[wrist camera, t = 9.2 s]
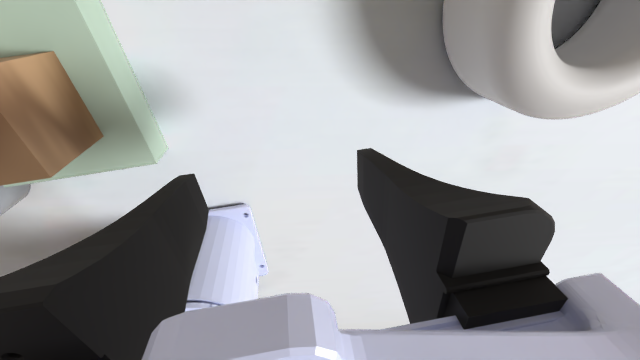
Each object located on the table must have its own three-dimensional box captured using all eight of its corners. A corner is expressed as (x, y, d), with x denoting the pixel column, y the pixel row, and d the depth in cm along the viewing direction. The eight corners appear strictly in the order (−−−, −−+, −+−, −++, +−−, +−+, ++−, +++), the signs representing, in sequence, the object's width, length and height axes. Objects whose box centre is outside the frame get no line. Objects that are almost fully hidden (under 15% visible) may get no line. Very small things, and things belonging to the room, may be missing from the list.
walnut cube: (103, 136, 17) (51, 177, 13) (21, 148, 17) (-60, 195, 13) (53, 51, 15) (-34, 69, 11) (-46, 64, 14) (-176, 88, 10)
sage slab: (170, 145, 21) (156, 163, 19) (37, 165, 21) (4, 187, 18) (100, -10, 16) (68, -12, 13) (-83, 12, 15) (-153, 14, 13)
